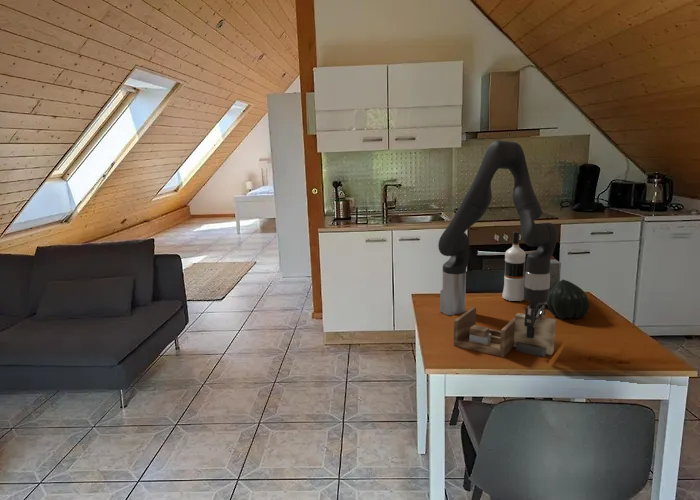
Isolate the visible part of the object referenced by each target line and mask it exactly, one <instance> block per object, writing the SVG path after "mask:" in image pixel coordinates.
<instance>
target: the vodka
mask: <svg viewBox="0 0 700 500" xmlns="http://www.w3.org/2000/svg"><path fill="white" fill-rule="evenodd" d="M512 235H513V236H512V246H511V247H510V248H508V249H507V250H506V251H505V253H504V262H505V263H504V276H503V279H504V281H503V282H504V284H503V290H502V294H501V295H502V296H501V297H502V299H503V298H504V299H506V300H509V301H508V302H510V301H520V302H523V301H524V300H525V299H524V282H525V268H526V266H525V265H526V263H525V262H526V257H527V256H526V255H527V253H526V252H525V250H524V249H522V248H521V247H520V232H519V231H513V232H512ZM504 299H503V300H504ZM506 300H505V301H506Z"/></svg>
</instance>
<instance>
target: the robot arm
mask: <svg viewBox="0 0 700 500" xmlns="http://www.w3.org/2000/svg"><path fill="white" fill-rule="evenodd" d="M499 169H504V170H509V172H510V173H511V175H512V177H513V179H514V181H513V182H514V184H513V190H512V202H513V205H514V207H515V210H516V211H517V214H518V217H519V224H520V234H521V236H520V237H521V239H522V241H523V243H524V244H525V245H526V246H529V247H532V248H533V247H537V249H536V250H535V251H533V252H531V253H528V254H527V256H526V259H525V262H526V263H525V265H526V266H525V273H524V300H525V301H527V302H528V303H529V304H528V305H527V307H526V308H525V311H524V312H525V313H524V314H525V323H524V326H527V337H528V338H534V332H535V324H536V321H538V318H539V317H544V316H545V314H546V304H545V302H547V301H548V300H549V288H550V260H551V257H552V256H553V253H554V252H555V248H556V247H557V246H556V245H557V244H558V243H557V242H558V239H559V233H558V228H557V226H556V225H555V224H554V223H552V222H542V223H541V222H539V223H538V222H537V223H535V221H537V220H538V219H540V218H541V217H542V214H543V210H542V207H541V204H540V202H539V200H538V198H537V196H536V194H535V192H534V189H533V185H532V182H531V177H530V174H529V169H528V166H527V161H526V157H525V153H524V150H523V147H522V146H521V144H519V143H518V142H515V141H510V140H494V141H493V142H492V143H490V144H489V146H488V147H487V150H486V151H485V153H484V156H483V158H482V160H481V163H480V165H479V168H478V171H477V172H476V174H475V176H474V178H473V181H472V182H471V185H470V187H469V189H468V190H467V191H466V194H465V195H464V198H463V199H462V201H461V203H460V205H459V207H458V209H457V210H456V212H455V214H454V215H453V218H452V219H451V221H450V223H449V224H448V225H447V226H446V227H445V230H444V231H443V232H442V233H441V236H440V237H439V238H438V239H439V240H438V251H439V253H440V254H441V255H442V256H445V257H449V259H448V260H447V261H446V262H444V263H443V264H442V285H441V286H442V288H441V289H440V294H439V296H440V297H439V312H440V313H443V314H445V315H448V316H454V315H457V314H458V315H459V314H464V313H465V312H466V293H467V292H466V289H467V288H466V287H467V286H466V285H467V267H468V265H469V258H470V240H469V236H468V235H467V233H466V231H467V230H469V229H470V228H471V227H472V226H474V224H476V223H477V222H478V221H479V220H480V219H482V217H483V216H484V215H485V214H486V213H485V212H486V211H487V210H488V208H489V206H490V205H491V203H492V198H493V195H492V194H493V193H492V180H493V178H494V176H495V174H496V172H497V171H498V170H499ZM530 320H531V323H529V321H530Z"/></svg>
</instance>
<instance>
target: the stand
mask: <svg viewBox="0 0 700 500" xmlns="http://www.w3.org/2000/svg"><path fill="white" fill-rule="evenodd" d="M515 351H516V352H520V353H524V354H528V355H532V356H537V357H543V358H545V357H546V355H547V354H546V348H545V347H541V346H536V345H531V344H526V343H522V342H517V343H516V347H515Z"/></svg>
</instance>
